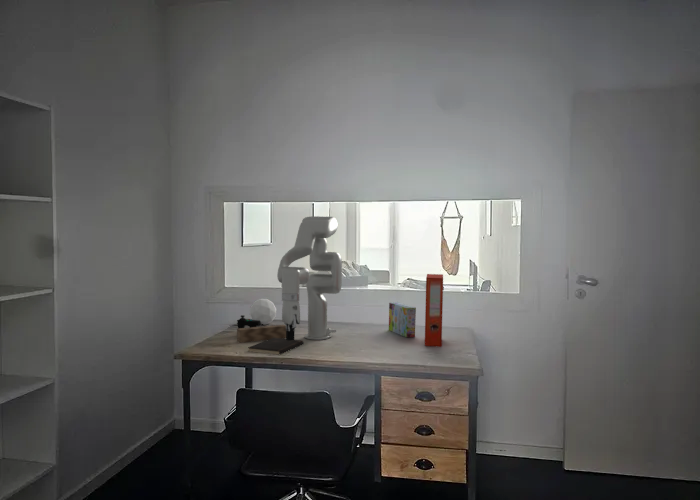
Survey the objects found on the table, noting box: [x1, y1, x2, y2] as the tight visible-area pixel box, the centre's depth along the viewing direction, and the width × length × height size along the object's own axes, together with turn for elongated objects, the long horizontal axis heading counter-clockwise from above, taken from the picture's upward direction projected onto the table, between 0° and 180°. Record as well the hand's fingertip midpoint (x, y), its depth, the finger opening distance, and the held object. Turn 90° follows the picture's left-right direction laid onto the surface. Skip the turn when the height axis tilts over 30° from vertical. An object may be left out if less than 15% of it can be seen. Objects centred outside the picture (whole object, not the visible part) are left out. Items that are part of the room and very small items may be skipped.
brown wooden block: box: [236, 324, 286, 344], centre depth 284 cm, size 24×4×6 cm, turn 118°
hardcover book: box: [247, 338, 304, 355], centre depth 267 cm, size 16×23×2 cm
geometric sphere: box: [249, 298, 277, 326], centre depth 324 cm, size 14×15×15 cm
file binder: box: [424, 273, 444, 348], centre depth 279 cm, size 8×17×32 cm, turn 171°
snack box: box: [388, 301, 417, 338], centre depth 301 cm, size 21×6×15 cm, turn 22°
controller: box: [236, 315, 262, 329], centre depth 293 cm, size 4×12×10 cm, turn 76°
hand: (290, 339), depth 251 cm, fingers closed
